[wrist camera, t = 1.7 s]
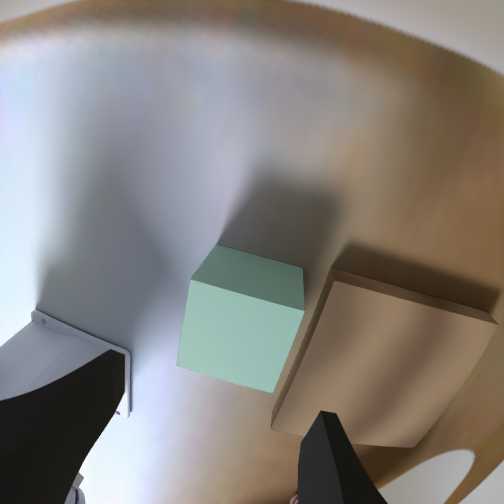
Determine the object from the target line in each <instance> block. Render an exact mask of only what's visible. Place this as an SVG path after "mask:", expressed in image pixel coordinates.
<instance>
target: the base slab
mask: <svg viewBox="0 0 504 504" xmlns="http://www.w3.org/2000/svg"><path fill="white" fill-rule="evenodd" d="M498 326H499V324H498V323H497V322H496V321H495V320H494V319H493V318H492V317H491V316H490V315H489V314H488V313H487V312H485V311H482V310H478V309H475V308H472V307H468V306H465V305H461V304H458V303H454V302H451V301H447V300H444V299H440V298H437V297H433V296H430V295H426V294H423V293H419V292H416V291H412V290H409V289H405V288H402V287H398V286H395V285H391V284H388V283H384V282H380V281H377V280H373V279H370V278H366V277H363V276H359V275H356V274H352V273H349V272H345V271H341V270H338V269H334V268H330V271H329V274H328V277H327V279H326V282H325V285H324V288H323V290H322V293H321V296H320V298H319V301H318V304H317V306H316V309H315V311H314V314H313V317H312V319H311V322H310V324H309V327H308V329H307V332H306V334H305V337H304V339H303V342H302V344H301V347H300V349H299V352H298V354H297V356H296V359H295V361H294V364H293V366H292V368H291V371H290V373H289V375H288V378H287V380H286V382H285V385H284V387H283V389H282V391H281V394H280V396H279V398H278V400H277V403H276V405H275V407H274V409H273V411H272V419H271V428H270V430H275V431H280V432H285V433H290V434H295V435H301V436H306V434H307V432H308V431H309V429H310V427H311V426H312V424H313V422H314V421H315V419H316V417H317V416H318V414H319V412H320V410H322V411H327V412H333V413H337V415H338V417H339V419H340V422H341V424H342V426H343V428H344V430H345V432H346V435H347V437H348V439H349V441H350V443H355V444H365V445H376V446H388V447H405V448H414V447H415V446H416V445H417V443H418V442H419V441H420V440H421V439H422V438H423V436H424V435H425V434H426V433H427V432H428V430H429V429H430V428H431V427H432V425H433V424H434V423H435V422H436V420H437V419H438V418H439V417H440V415H441V414H442V413H443V411H444V410H445V409H446V407H447V406H448V405H449V403H450V402H451V401H452V399H453V398H454V397H455V395H456V394H457V392H458V391H459V389H460V388H461V387H462V385H463V384H464V382H465V381H466V379H467V378H468V376H469V375H470V373H471V372H472V370H473V368H474V367H475V365H476V364H477V362H478V360H479V359H480V357H481V356H482V354H483V352H484V351H485V349H486V347H487V345H488V344H489V342H490V340H491V338H492V337H493V335H494V333H495V331H496V329H497V328H498Z"/></svg>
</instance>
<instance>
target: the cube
mask: <svg viewBox="0 0 504 504" xmlns="http://www.w3.org/2000/svg"><path fill="white" fill-rule="evenodd" d="M304 312H305V304H304V284H303V268H300V267H297V266H293V265H289V264H286V263H282V262H279V261H275V260H271V259H268V258H264V257H261V256H257V255H253V254H250V253H246V252H243V251H239V250H235V249H232V248H228V247H225V246H221V245H217V244H216V245H215V247H214V248H213V249H212V251H211V252H210V253H209V255H208V256H207V257H206V259H205V260H204V261H203V263H202V264H201V266H200V267H199V268H198V270H197V271H196V272H195V274H194V275H193V276H192V278H191V279H190V285H189V290H188V296H187V302H186V307H185V313H184V319H183V325H182V331H181V337H180V344H179V350H178V357H177V363H176V366H179V367H182V368H185V369H188V370H191V371H194V372H198V373H201V374H204V375H207V376H211V377H214V378H217V379H221V380H224V381H228V382H232V383H235V384H239V385H243V386H246V387H250V388H254V389H258V390H262V391H266V392H270V393H273V390H274V388H275V386H276V383H277V381H278V378H279V376H280V373H281V371H282V369H283V366H284V364H285V361H286V359H287V356H288V354H289V351H290V349H291V346H292V343H293V341H294V338H295V336H296V333H297V331H298V328H299V325H300V323H301V320H302V317H303V315H304Z"/></svg>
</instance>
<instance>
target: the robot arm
mask: <svg viewBox="0 0 504 504" xmlns="http://www.w3.org/2000/svg"><path fill="white" fill-rule="evenodd" d="M31 318H32V321H31V322H30V323H29V324H27V325H26V326H25V327H24V328H23V329H21V330H20V331H19V332H18V333H17V334H15V335H14V336H13V337H12V338H11V339H9V340H8V341H7V342H6V343H5V344H3V345H2V346H1V347H0V504H85V496H84V493H83V492H82V490H81V489H80V488H79V485H80V484H81V482H82V480H83V478H84V477H83V476H82V475H81V474H80V473H79V470H80V468H81V465H82V463H83V461H84V460H85V458H86V456H87V455H88V453H89V451H90V450H91V448H92V447H93V445H94V444H95V442H96V441H97V439H98V438H99V436H100V435H101V433H102V432H103V430H104V429H105V427H106V426H107V424H108V423H109V421H110V420H111V418H112V417H113V415H114V414H115V415H117V416H119V417H122V418H125V419H127V418H128V417H129V415H130V354H129V352H128V351H127V350H125V349H123V348H120V347H118V346H115V345H113V344H110V343H108V342H105V341H103V340H101V339H98V338H96V337H93V336H91V335H89V334H87V333H84V332H82V331H80V330H77V329H75V328H73V327H71V326H69V325H66V324H64V323H62V322H60V321H58V320H56V319H54V318H52V317H49V316H47V315H45V314H43V313H41V312H39V311H37V310H34V311H32V312H31ZM298 504H388V503H387V502H386V501H385V499H384V498H383V497H382V495H381V494H380V493H379V491H378V490H377V489H376V487H375V486H374V484H373V483H372V481H371V479H370V478H369V476H368V474H367V473H366V471H365V469H364V468H363V466H362V464H361V462H360V460H359V458H358V457H357V455H356V453H355V451H354V449H353V447H352V445H351V443H350V441H349V439H348V437H347V435H346V432H345V430H344V428H343V426H342V424H341V422H340V419H339V417H338V415H337V413H333V412H327V411H322V410H320V412H319V414H318V416H317V417H316V419H315V421H314V422H313V424H312V426H311V427H310V429H309V431H308V432H307V434H306V436H305V437H304V439H303V440H302V442H301V447H300V455H299V463H298Z"/></svg>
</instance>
